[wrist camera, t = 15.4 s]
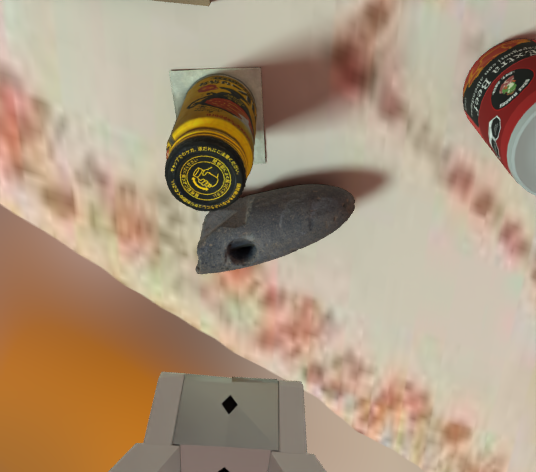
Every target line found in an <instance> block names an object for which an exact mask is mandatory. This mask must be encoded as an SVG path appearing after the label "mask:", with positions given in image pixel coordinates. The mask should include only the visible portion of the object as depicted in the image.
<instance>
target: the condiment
mask: <svg viewBox="0 0 536 472" xmlns="http://www.w3.org/2000/svg"><path fill="white" fill-rule="evenodd" d="M169 74H170V80H171V87H172V93H173V100H174V105H175V113H176V122H175V125H174V127H173V130H172V132H171V135H170V137H169V140H168V142H167V148H166V150H167V153H166V156H167V161H166V166H165V177H166V181H167V185H168V188H169V190H170V191H171V193H172V195H173V196H174V197H175V198H176V199H177V200H179V201H180V202H182V203H183V204H185V205H186V206H189V207H191V208H193V209H195V210H198V211H217V210H221V209H224V208H227V207H228V206H229V205H231V204H233V203H234V202H236V201H237V200H238V198H239V196H240V195H241V194H242V191H243V190H244V187H245V183H246V180H247V177H248V175H249V174H250V171H251V168H252V165H253V164H262V163H265V145H264V123H263V102H262V81H261V68H227V69H200V70H183V71H169Z"/></svg>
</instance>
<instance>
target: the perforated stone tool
mask: <svg viewBox="0 0 536 472" xmlns="http://www.w3.org/2000/svg"><path fill="white" fill-rule="evenodd" d="M354 203H355V200H354V197H353V196H352V194H350V193H349V192H348V191H346V190H344V189H341V188H339V187H334V186H329V185H320V184H308V185H298V186H292V187H286V188H281V189H276V190H271V191H267V192H262V193H258V194H253V195H249V196H246V197H244V198H238V200H237V201H236V202H234V203H233V204H231V205H229V206H228V207H227V208H224V209H221V210H217V211H210V212H209V213H208V214H207V215H206V217H205V219H204V223H203V227H202V232H201V237H200V241H199V243H198V247H197V255H198V257H199V260H198V264H197V266H196V272H197V274H207V273H217V272H224V271H230V270H235V269H241V268H244V267H249V266H253V265H257V264H260V263H263V262H267V261H270V260H273V259H276V258H279V257H282V256H285V255H287V254H290V253H292V252H294V251H296V250H298V249H301V248H304V247H306V246H308V245H310V244H313V243H315V242H317V241H319V240H320V239H322V238H324V237H326V236H327V235H329V234H331V233H333V232H334V231H335V230H337V229H338V228H339V227H341V225H342V224H343V223H344V222H345V221H347V220H348V218H349V217H350V215H351V214H352V213H353V211H354V208H355V205H354Z"/></svg>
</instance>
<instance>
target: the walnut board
mask: <svg viewBox="0 0 536 472" xmlns="http://www.w3.org/2000/svg"><path fill="white" fill-rule="evenodd" d="M154 1H164V2H174V3H183V4H193V5H203V6H209V5H210V3H211V0H154Z"/></svg>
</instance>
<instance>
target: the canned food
mask: <svg viewBox="0 0 536 472" xmlns="http://www.w3.org/2000/svg"><path fill="white" fill-rule="evenodd" d="M463 105H464V111H465V113H466V115H467V118H468V119H469V121H470V122H471V123H472V125H473V126H474V127H475V129H476V130H477V131H478V133H479V134H480V135H481V137H482V138H483V139H484V141H485V142H486V143H487V144H488V146H489V147H490V148H491V150H492V151H493V152H494V154H495V155H496V156H497V158H498V159H499V160H500V162H501V163H502V164H503V165H504V167H505V168H506V169H507V171H508V172H509V173H510V175H511V176H512V177H513V178H514V179H515V180H516V182H517V183H518V184H520V185H521V186H522V187H523V188H524V189H525V190H527V191H528V192H529V193H531V194H534V195H536V40H529V39H519V40H512V41H507V42H504V43H501V44H499V45H497V46H495V47H493V48H491V49H490V50H488V51H487V52H486V53H484V54H483V55H482V56H481V57H480V58H479V59H478V60H477V61H476V62H475V64H474V65H473V67H472V68H471V70H470V71H469V73H468V76H467V78H466V80H465V84H464V88H463Z"/></svg>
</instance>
